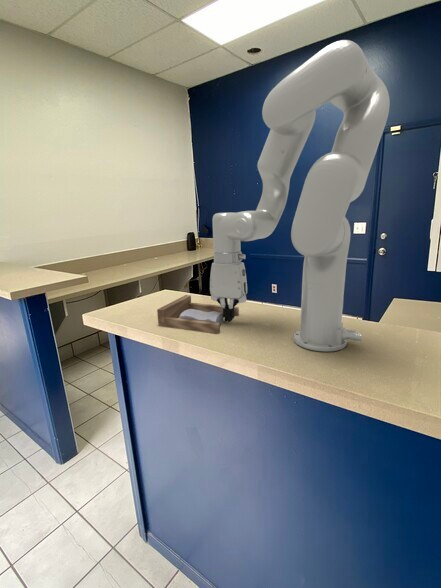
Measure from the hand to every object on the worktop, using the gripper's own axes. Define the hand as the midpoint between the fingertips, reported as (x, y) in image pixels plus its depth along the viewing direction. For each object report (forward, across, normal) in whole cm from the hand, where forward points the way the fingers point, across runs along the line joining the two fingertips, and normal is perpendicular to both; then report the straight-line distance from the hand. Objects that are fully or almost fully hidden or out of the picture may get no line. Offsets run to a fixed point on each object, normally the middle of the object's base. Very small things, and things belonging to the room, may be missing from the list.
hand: (228, 320), depth 91 cm
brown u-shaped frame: (+1, +8, 0) cm, 9 cm away
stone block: (+1, +8, +2) cm, 8 cm away
